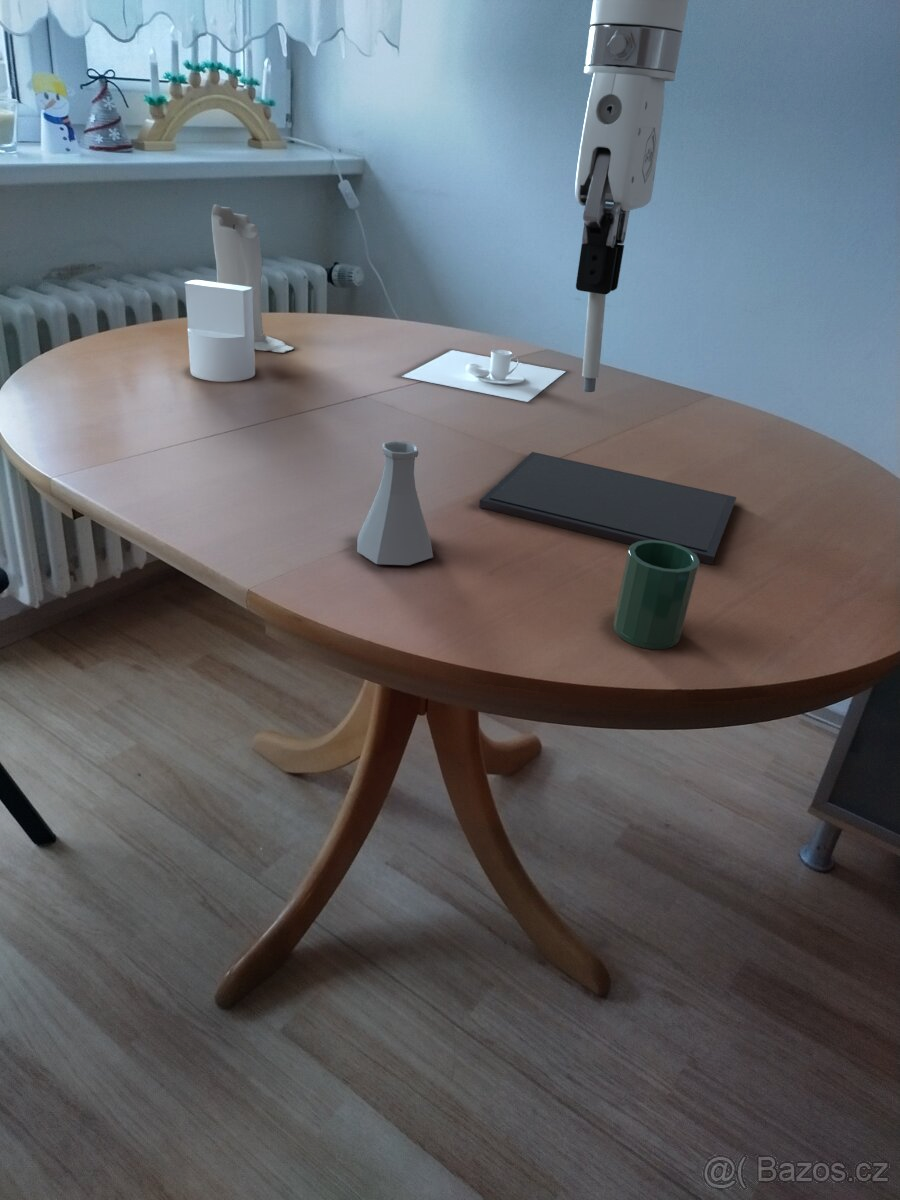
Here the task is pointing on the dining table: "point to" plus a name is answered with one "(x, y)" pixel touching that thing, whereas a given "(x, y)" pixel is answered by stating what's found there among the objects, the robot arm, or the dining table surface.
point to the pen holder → (655, 593)
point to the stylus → (593, 340)
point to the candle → (242, 265)
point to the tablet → (612, 504)
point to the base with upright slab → (220, 331)
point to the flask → (396, 513)
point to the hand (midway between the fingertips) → (596, 288)
